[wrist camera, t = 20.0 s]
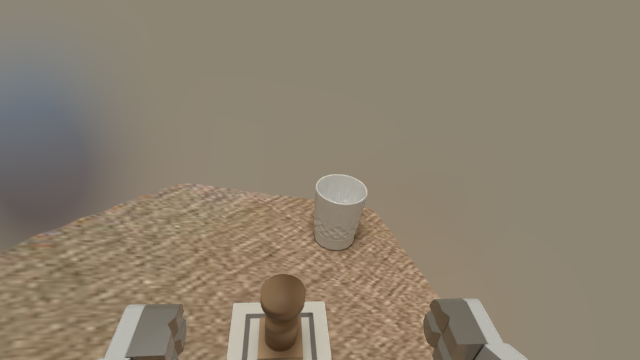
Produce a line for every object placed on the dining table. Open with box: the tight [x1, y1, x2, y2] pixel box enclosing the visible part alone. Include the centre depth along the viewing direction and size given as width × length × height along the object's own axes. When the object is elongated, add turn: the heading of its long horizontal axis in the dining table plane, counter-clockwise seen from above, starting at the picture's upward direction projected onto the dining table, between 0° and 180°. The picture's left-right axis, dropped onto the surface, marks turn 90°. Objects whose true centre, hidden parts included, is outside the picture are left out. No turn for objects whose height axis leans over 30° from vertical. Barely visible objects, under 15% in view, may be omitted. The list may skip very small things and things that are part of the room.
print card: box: [227, 302, 332, 360], centre depth 41 cm, size 12×12×1 cm
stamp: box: [257, 274, 306, 360], centre depth 38 cm, size 5×5×10 cm
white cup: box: [314, 174, 367, 250], centre depth 55 cm, size 8×8×10 cm
